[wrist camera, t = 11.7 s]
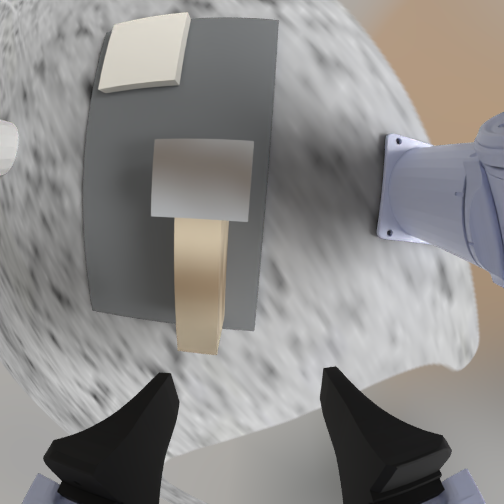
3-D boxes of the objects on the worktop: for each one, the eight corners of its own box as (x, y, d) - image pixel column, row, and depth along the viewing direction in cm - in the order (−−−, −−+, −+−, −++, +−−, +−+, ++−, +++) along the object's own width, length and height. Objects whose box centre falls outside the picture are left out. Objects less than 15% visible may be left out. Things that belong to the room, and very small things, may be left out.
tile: (180, 86, 16) (191, 20, 14) (175, 79, 15) (187, 12, 13) (106, 93, 16) (120, 31, 14) (98, 89, 15) (114, 24, 13)
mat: (278, 23, 15) (278, 20, 15) (254, 327, 21) (254, 331, 21) (109, 35, 15) (106, 32, 14) (95, 307, 21) (92, 310, 20)
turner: (241, 317, 20) (238, 356, 16) (176, 311, 20) (157, 347, 16) (253, 151, 17) (254, 141, 12) (179, 148, 17) (154, 139, 12)
